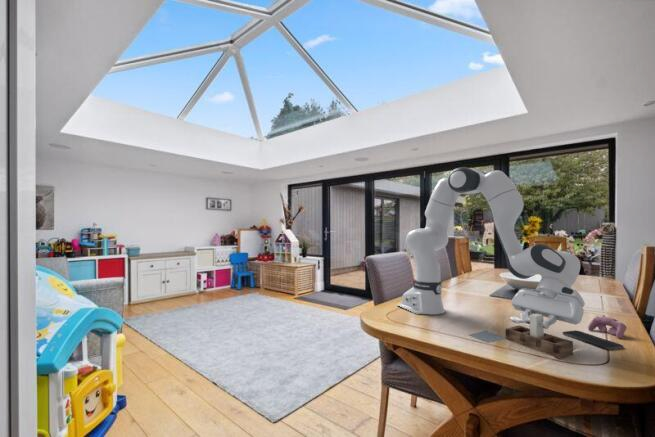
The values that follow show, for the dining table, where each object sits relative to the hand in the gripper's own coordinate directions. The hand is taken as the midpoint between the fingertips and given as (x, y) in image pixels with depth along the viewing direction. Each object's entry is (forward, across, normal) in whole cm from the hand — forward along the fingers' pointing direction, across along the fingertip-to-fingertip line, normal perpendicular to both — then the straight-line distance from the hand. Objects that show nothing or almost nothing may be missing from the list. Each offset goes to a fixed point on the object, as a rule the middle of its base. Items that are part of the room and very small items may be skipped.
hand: (535, 325), depth 98 cm
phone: (-11, +5, +22) cm, 25 cm away
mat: (+10, -13, 0) cm, 16 cm away
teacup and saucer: (-11, -20, +22) cm, 32 cm away
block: (+4, 0, +4) cm, 6 cm away
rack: (+5, 0, +6) cm, 7 cm away
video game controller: (-20, +4, +31) cm, 37 cm away
